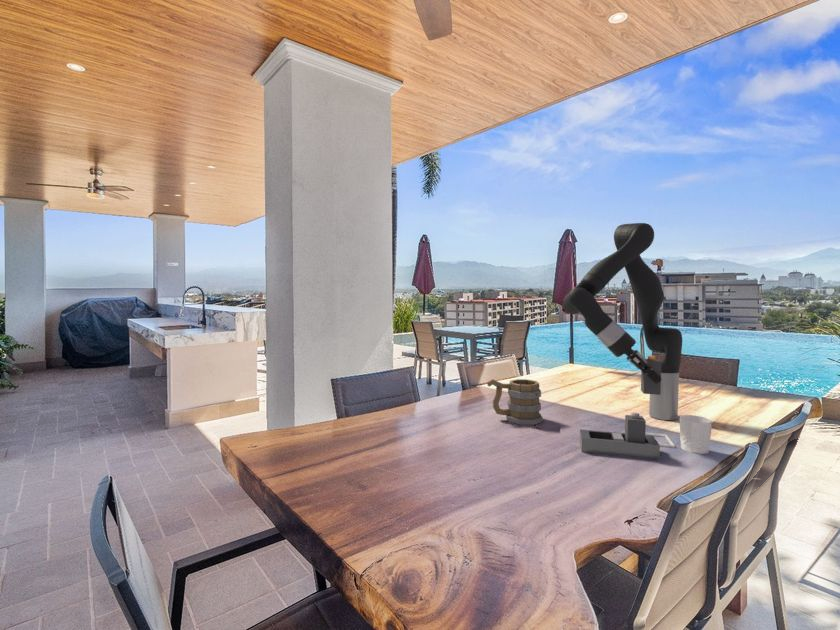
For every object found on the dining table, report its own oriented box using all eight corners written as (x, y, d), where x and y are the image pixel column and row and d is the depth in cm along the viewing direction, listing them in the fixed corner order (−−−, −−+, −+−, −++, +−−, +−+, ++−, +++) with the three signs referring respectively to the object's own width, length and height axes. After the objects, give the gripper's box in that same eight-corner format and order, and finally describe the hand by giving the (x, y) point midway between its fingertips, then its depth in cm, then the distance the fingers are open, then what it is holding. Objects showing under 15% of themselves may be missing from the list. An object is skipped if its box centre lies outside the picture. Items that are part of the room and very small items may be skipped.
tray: (631, 436, 137) (631, 431, 137) (666, 439, 134) (666, 434, 134) (637, 447, 127) (637, 442, 127) (674, 451, 125) (675, 445, 124)
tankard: (538, 414, 161) (538, 376, 160) (544, 425, 149) (545, 383, 148) (485, 413, 163) (485, 375, 162) (487, 424, 151) (487, 382, 150)
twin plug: (624, 448, 124) (625, 410, 123) (641, 450, 123) (642, 412, 122) (627, 454, 120) (628, 415, 119) (644, 455, 119) (645, 416, 118)
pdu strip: (579, 445, 130) (579, 428, 129) (652, 452, 124) (653, 434, 123) (581, 455, 122) (581, 437, 122) (659, 463, 116) (659, 444, 116)
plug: (640, 390, 132) (641, 354, 132) (656, 391, 131) (658, 355, 130) (643, 393, 128) (644, 356, 127) (660, 394, 127) (661, 357, 126)
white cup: (695, 459, 119) (697, 424, 118) (672, 449, 126) (673, 416, 126) (717, 456, 121) (718, 421, 120) (693, 446, 128) (694, 413, 128)
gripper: (626, 332, 124) (672, 376, 121) (623, 328, 138) (664, 367, 134) (606, 349, 127) (650, 392, 123) (605, 343, 140) (645, 382, 136)
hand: (657, 379), depth 128 cm, fingers closed on plug, 4 cm apart
